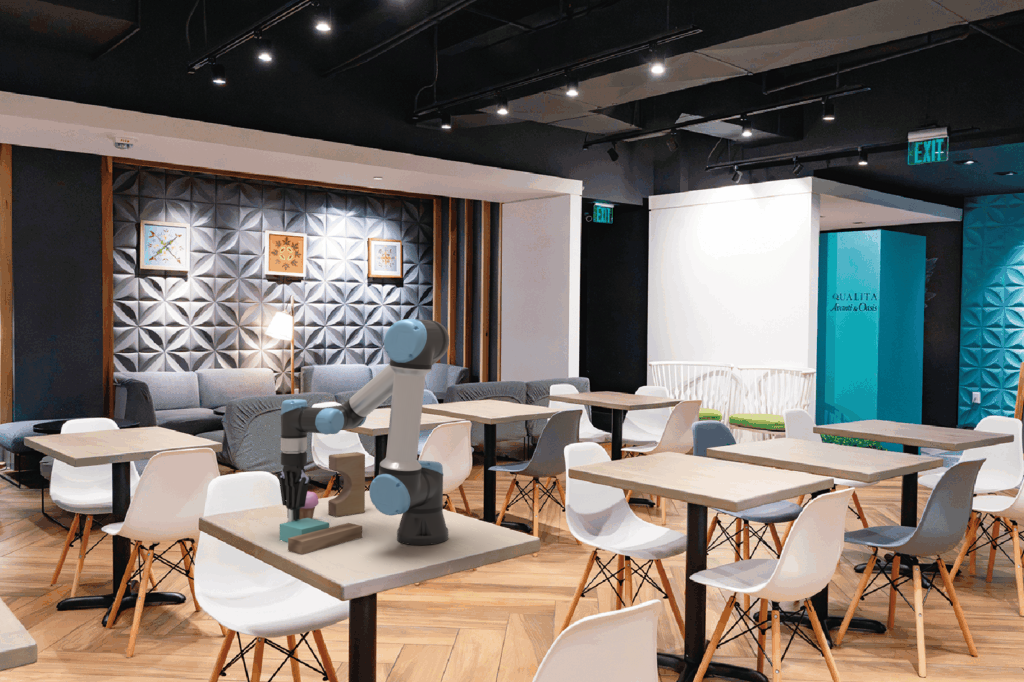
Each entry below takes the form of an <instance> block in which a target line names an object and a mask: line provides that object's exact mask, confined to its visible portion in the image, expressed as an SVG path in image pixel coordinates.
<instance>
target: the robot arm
mask: <svg viewBox="0 0 1024 682" xmlns="http://www.w3.org/2000/svg"><path fill="white" fill-rule="evenodd" d="M449 346H450V335H449V333H448V331H447V328H446V327H445V326H444V325H443V324H441V323H440V322H438V321H436V320H433V319H417V318H416V319H415V318H406V319H400V320H398V321H396V322H394V323H393V324H392V325H391V326H390V327H389V328H388V329H387V331H386V332H385V335H384V339H383V347H384V348H383V349H384V351H385V353H386V354H387V357H388V358H389V364H388V365H387V366H385V367H384V368H383V369H382V370H380V371H379V373H377V374H376V375H375V376H374V377H373V378H371V380H369V381H368V382H366V383H365V385H364V386H362V387H361V388H360V389H359V390H358V391H356V392H355V393H354V394H353V395H352V396H350V398H349V399H348V400H347V401H345V402H344V403H343V404H341V405H340V404H339V405H334V406H333V405H332V406H325V407H311V406H308V401H307V399H299V398H297V399H294V398H293V399H285V400H283V401H282V402H281V406H280V407H281V408H280V431H281V434H280V451H282V452H281V453H280V465H281V466H283V467H282V471H281V472H277V474H276V476H277V479H278V482H279V488H280V495H281V504H282V506H285V507H286V509H287V517H286V518H287V522H291V521H295V520H299V518H300V515H299V514H300V508H302V507H304V506H305V502H306V496H307V491H309V490H308V489H309V484H310V481H311V479H312V478H311V476H309V475H307V474H306V470H305V465H306V464H308V452H307V450H308V439H307V438H308V433H311V434H312V433H313V434H321V435H327V436H328V435H336V434H339V432H340V431H343V430H350V429H351V430H353V429H356V428H359V427H361V426H362V425H364V424H365V422H366V419H367V416H369V414H371V413H372V412H373V411H375V410H376V409H377V408H378V407H380V405H382V404H383V403H385V401H386V400H388V399H389V398H390V397H391V404H390V414H389V426H388V432H387V434H388V435H387V445H386V455H385V458H384V459H382V460H381V461H380V462H379V468H378V469H379V470H378V475H376V477H374V479H372V481H371V483H370V485H369V498H370V501H371V503H372V505H374V507H375V509H376V510H377V511H378V512H379V513H381V514H383V515H385V516H396V515H402V516H401V519H400V522H399V525H398V529H397V531H396V540H397V541H398V542H399V543H402V544H404V545H405V544H406V545H410V546H413V545H414V546H427V545H428V546H429V545H436V544H441V543H444V542H446V541H447V540H449V529H448V527H447V523H446V521H445V516H444V512H443V509H444V508H443V503H444V502H443V501H444V499H443V498H444V470H443V469H444V467H443V464H442V463H441V462H439V461H433V460H432V461H431V460H420V459H419V460H418V452H419V444H420V433H421V431H420V430H421V422H422V411H423V404H424V403H423V402H424V392H425V382H426V375H428V373H430V372H431V371H432V368H433V365H434V364H436V363H437V362H438V361H439V360H441V359H442V358H443V356H444V355H445V354H446V353H447V351H448V349H449Z"/></svg>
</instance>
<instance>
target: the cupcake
mask: <svg viewBox="0 0 1024 682" xmlns="http://www.w3.org/2000/svg"><path fill="white" fill-rule="evenodd" d="M319 503H320V502H319V497H318V495H317V493H316V492H314V491H309V490H307V496H306V502H305V506H304V507H302V508H300V514H299V515H300V518H299V520H300V519H304V518H311V519H314V514H315V509H316V506H318V505H319Z"/></svg>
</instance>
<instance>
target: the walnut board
mask: <svg viewBox="0 0 1024 682" xmlns="http://www.w3.org/2000/svg"><path fill="white" fill-rule="evenodd" d="M362 538H363V525H360V524H355V523H352V522H351V523H350V522H346V523H343V524H338V525H335V526H331V527H330V526H329V528H326V529H322V530H318V531H314V532H310V533H306V534H302V535H298V536H295V537H291V538H288V542H287V551H288V550H289V551H288V552H291V551H292V553H296V554H299V555H305V554H309V553H312V552H315V551H319V550H322V549H327V548H331V547H334V546H337V545H342V544H345V543H347V542H351V541H355V540H359V539H362Z"/></svg>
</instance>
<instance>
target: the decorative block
mask: <svg viewBox="0 0 1024 682" xmlns="http://www.w3.org/2000/svg"><path fill="white" fill-rule="evenodd" d="M328 470H330V471H333V472H337V473H339V474H340V475H341V477H342V478H343V487H342V489H341V491H340V493H339V494H338V495H337V496H335V497H334V498H331V499H329V500H328V502H327V503H328V505H327V506H328V507H327V508H328V509H327V511H328V515H329V514H330V516H333V517H335V518H339V517H344V516H345V515H346V516H351V515H352V514H353V515H359V514H364V513H365V512H366V509H365V508H366V505H365V504H366V503H365V502H366V500H365V499H366V498H365V497H366V496H365V495H366V490H365V489H366V454H365V453H363V452H358V451H356V452H355V451H354V452H353V451H352V452H344V453H343V452H342V453H334V454H333V453H332V454H329V455H328ZM346 516H345V517H346Z"/></svg>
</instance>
